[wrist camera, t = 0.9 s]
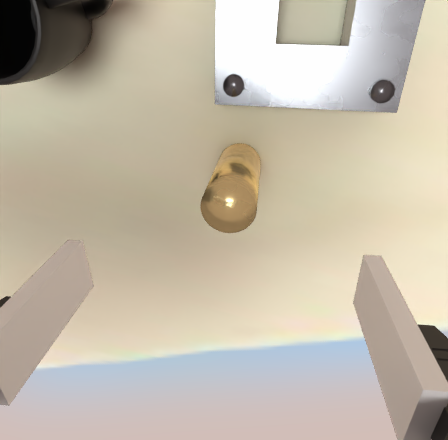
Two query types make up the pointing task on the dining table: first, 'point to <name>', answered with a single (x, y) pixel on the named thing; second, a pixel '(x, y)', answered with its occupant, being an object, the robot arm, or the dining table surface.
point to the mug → (43, 35)
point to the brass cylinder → (233, 190)
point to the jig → (315, 58)
